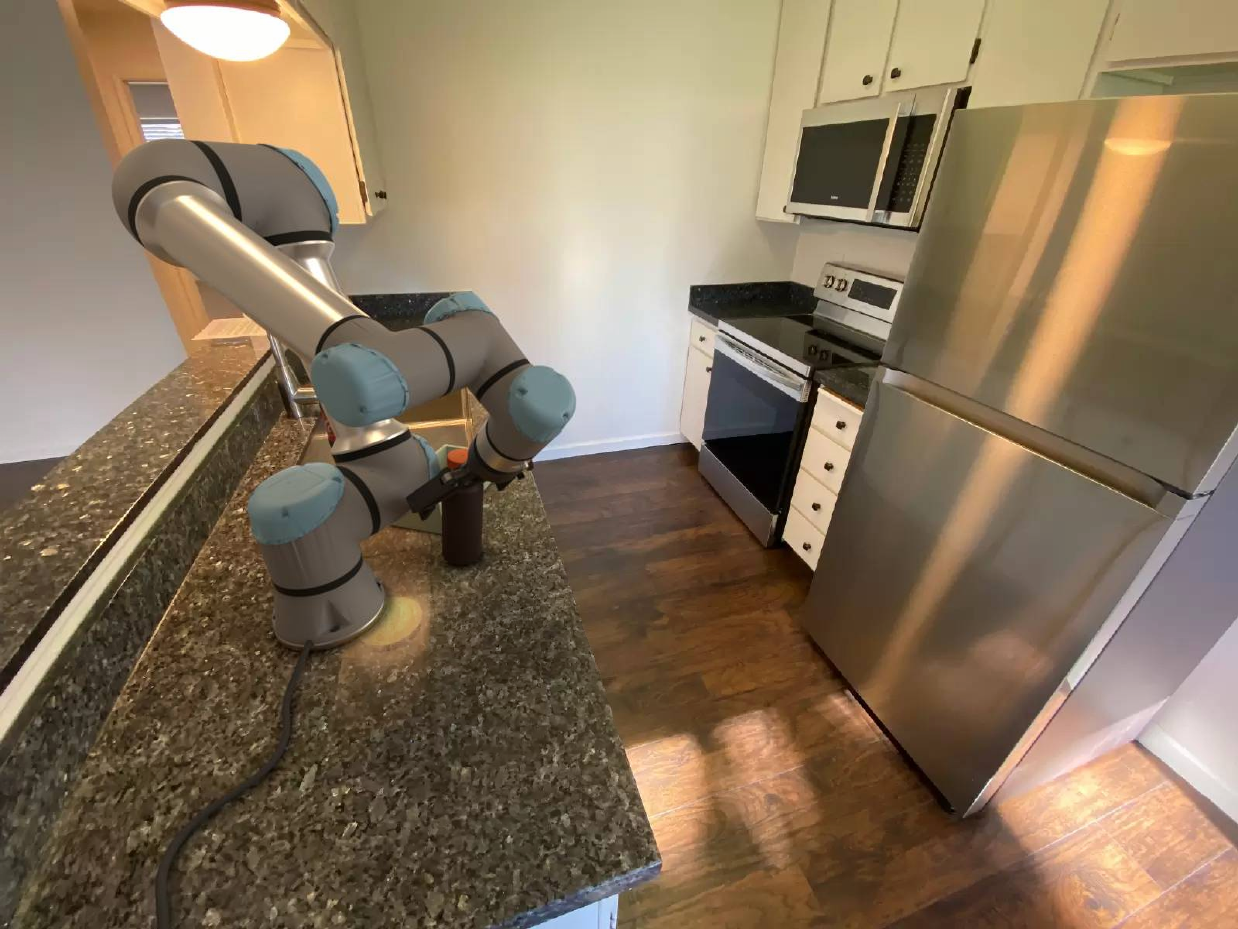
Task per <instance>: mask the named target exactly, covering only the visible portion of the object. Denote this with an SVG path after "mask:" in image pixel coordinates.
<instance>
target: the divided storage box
mask: <svg viewBox="0 0 1238 929" xmlns="http://www.w3.org/2000/svg"><path fill="white" fill-rule="evenodd" d="M456 449H469V446H468V447H467V446H460V445H453V444H446V443H444V444H443V445H442V446H441V447H439V448H438V449H437V450H436V451H435V453H436V455H437V457H438V460H439V463H440V468H441V470H442V469H443V468H445V467H447V455H448V453H449V452H451V451H453V450H456ZM490 484H492V482H488V481H487V482H485V483H484V491H485V490H487V488H488V486H489V485H490ZM435 506H436V508H435V509H434V511H433V512H432V513H431V515H430V516H429V517H428V519H427V520H424V521H422V520H421V518H420V516H419V514H418V513H412V514H411V513H410V514H409V515H407V516H405V517H403V518H402V519H400V520H398V521H397V522H395V523H393V524H392V525H391V526H394V527H398V528H399V527H400V528H404V529H411V530H416V531H422V532H427V533H432V534H433V533H434V534H440V535H442V512H441V502H440V503H438V504H436V505H435Z"/></svg>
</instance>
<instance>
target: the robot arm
mask: <svg viewBox="0 0 1238 929" xmlns="http://www.w3.org/2000/svg"><path fill="white" fill-rule="evenodd" d="M111 198H112V202H113V206H114V209H115V213H116V214H117V216H118V218H119V220H120V222H121V223H122V225H123V227H124V228H125V229H126V231H127V232H128V233H129V234H130V236H131V237H132V238H133V239H134V240H135V241H136V242H137V243H138V244H139V245H140V246H142V247H143V248H144V249H146V250H147V251H148V252H149V253H150V254H152V255H153V256H154V257H155V258H157V259H159V260H160V261H161V262H163V263H166V264H167V265H170V266H174V267H177V268H183V269H187V270H188V271H189V272H190V273H192V274H193V275H194V276H195V277H197V278H198V279H199V280H201V281H202V282H203V283H204V284H205V285H207V286H208V287H209V288H210V289H211V290H213V291H214V292H215V293H217V294H218V295H220V296H221V297H222V298H223V299H224V300H226V301H227V302H228V303H229V304H231V305H232V306H233V307H235V308H236V309H237V310H239V311H240V312H241V313H243V314H244V315H245V316H246V317H247V318H249V319H250V320H251V321H252V322H254V323H255V324H256V325H258V326H259V327H260V328H261V329H262V330H264V331H266V332H267V333H268V334H269V335H270V336H272V337H273V338H274V339H276V340H277V341H278V342H280V344H282V345H283V346H285V347H286V348H287V349H288V350H290V351H291V352H292V353H294V354H295V355H296V356H297V357H299V360H300V361H301V363H302V366H303V368H304V370H305V373H306V375H307V377H308V379H309V381H310V383H311V386H312V389H313V392H314V394H315V397H316V398H317V400H319V401H318V403H319V402H320V403H321V406H322V408H323V410H324V412H325V414H326V417H327V419H328V421H329V423H330V425H331V428H332V430H333V432H334V434H335V437H336V440H335V443H334V445H333V447H332V448H330V455H331V457H332V459H333V461H334V463H335V464H334V465H333V464H331V463H328V462H322V461H321V462H319V461H318V462H317V461H315V462H307V463H305V464H304V465H299V464H297V465H293V466H290V467H287V468H284V469H282V470H280V471H278V472H276V473H274V474H271V476H269V477H267V478H266V479H265V480H263V481H262V482H261V483H260V484H258V485H257V486H256V487H255V489H254V490H253V491H252V493H251V495H250V498H249V499H248V501H247V508H246V509H247V514H248V518H249V521H250V530H251V534H252V536H253V538H254V539H255V540H256V543H257V545H258V548H259V550H260V553H261V556H262V559H263V561H264V564H265V566H266V569H267V572H268V575H269V577H270V580H271V583H272V585H273V588H274V590H273V591H274V593H273V609H272V613H271V625H272V630H273V632H274V636H275V638H276V640H277V641H278V643H280V645H282V646H283V647H285V648H286V649H289V650H292V651H297V652H301V653H300V655H299V658H298V660H297V662H296V665H295V667H294V669H293V672H292V674H291V676H290V679H289V681H288V684H287V686H286V689H285V692H284V696H283V700H282V706H281V707H282V708H281V716H282V730H281V736H280V740H279V743H278V745H277V747H276V749H275V750H274V752H273V754H272V756H271V757H270V758H269V759H268V760H267V762H266V763H265V764H264V765H263V766H262V767H261V768H260V769H259V770H258V771H256V772H255V773H254V774H253V775H252V776H250V777H249V778H248V779H246V780H245V781H243V782H242V783H241V784H239V785H238V786H236V787H234V788H233V789H231V790H230V791H228V792H227V793H226V794H224V795H222V796H220V797H219V798H217V799H216V800H215V801H213V802H211V803H210V804H209V805H207V806H206V807H205V808H203V809H202V810H201V811H200V812H198V813H197V814H196V815H195V816H194V817H192V818H191V819H190V820H189V821H188V822H187V823H186V825H184V827H182V829H181V830H180V831H179V832H178V833H177V835H176V836H175V838H174V839H173V840H172V841H171V843H170V844H169V846H168V847H167V849H166V851H165V853H164V855H163V857H162V859H161V861H160V863H159V866H158V868H157V872H156V877H155V881H154V882H155V884H154V897H155V898H154V901H155V913H156V914H155V915H156V929H170V914H169V913H170V912H169V901H168V900H169V898H168V875H169V870H170V866H171V864H172V862H173V860H174V857H175V855H176V853H177V851H178V850H179V848H180V847H181V845H182V843H183V842H184V841H185V839H186V838H187V836H188V835H189V834H190V833H191V832H192V831H193V830H194V828H196V827H197V826H198V825H199V824H200V823H201V822H202V821H203V820H205V819H206V818H207V817H208V816H210V815H211V814H212V813H213V812H215V811H216V810H218V809H219V808H221V807H222V806H224V805H225V804H227V803H228V802H230V801H231V800H232V799H234V798H236V797H237V796H239V795H240V794H242V793H244V792H245V791H246V790H247V789H249V788H251V786H254V785H255V783H257V782H258V781H260V780H261V779H262V778H263V777H264V776H265V775H266V774H268V773H269V771H271V769H272V768H273V767H274V766H275V765H276V764H277V763H278V761H279V760H280V758H281V757H282V755H283V753H284V752H285V750H286V747H287V745H288V743H289V739H290V735H291V702H292V696H293V693H294V691H295V687H296V685H297V682H298V680H299V677H300V674H301V673H302V670H303V667H304V665H305V663H306V660H307V657H308V655H309V653H312V652H314V653H315V652H322V651H327V650H331V649H334V648H337V647H341V646H343V645H345V644H347V643H350V642H352V641H354V640H355V639H357V638H360V636H362V635H364V634H365V633H366V632H367V631H369V630H370V629H371V628H373V627H374V626H375V625H376V624H377V622H378V621H379V620H380V618H382V616H383V614H384V612H385V610H386V607H387V595H386V590H385V588H384V586H383V583H382V582H381V580H380V578H378V577H377V575H376V574H375V573H374V571H373V570H372V568H371V567H370V566H369V565H368V563H367V562H366V561H365V560H364V556H363V552H362V549H361V543H363V542H364V541H366V540H368V539H369V538H371V537H373V536H374V535H376V534H379V533H380V532H381V531H383V530H385V529H386V528H388V527H390V526H393V525H392V524H393V523H395V522H397V521H398V520H400V519H402V518H403V517H405V516H407V515H409V514H410V513H411V514H412V513H418V514H419V516H420V518H421V520H422V521H424V520H427V519H428V517H429V516H430V515H431V513H432V512H433V511H434V509H435V508H436V506H435V505H436V504H438V503H440V502H442V501H443V500H445V499H447V498H448V497H450V496H452V495H454V494H455V493H457V492H459V491H461V490H469V489H471V488H473V487H474V486H476V485H478V484H480V483H485V482H487V481H488V482H491V484H494V485H495V487H496V490H497V491H498V493H500V492H503V491H504V490H505V489H506V488H507V487H508V486H510V484H511V483H512V482H513V481H514V480H516V478H517V480H518V481H521V480H523V479H525V478H526V476H525V474H524V471H527V472H531V471H533V470H534V469H535V466H534V462H533V459H534V458H535V457H536V456H538V454H540V452H542V451H543V450H544V449H545V448H546V447H547V446H548V445H549V444H550V443H551V442H553V440H555V439H556V438H557V437H558V436H559V435H560V434H561V433H562V432H563V430H564V429H565V427H566V426H567V425H568V423H569V422H570V421H571V419H572V418H573V416H574V414H575V412H576V409H577V396H576V392H575V390H574V387H573V385H572V383H571V381H570V380H569V379H568V378H567V377H566V376H565V375H564V374H562V373H559V372H558V371H556V370H555V369H554V368H552V367H551V366H547V365H540V364H539V365H534V364H533V363H531V362H530V361H529V359H528V358H527V356H526V355H525V354H524V352H523V351H522V350H521V348H520V347H519V346H518V344H517V343H516V341H515V340H514V339H513V338H512V336H511V335H510V334H509V332H508V331H507V329H506V328H505V327H504V326H503V324H502V323H501V321H500V319H499V317H498V315H496V314H494V312H493V311H491V309H490V308H489V307H488V306H487V305H486V304H485V303H484V301H483V300H482V299H481V297H480V296H478V295H477V294H475V293H473V292H472V291H467V290H466V291H465V290H463V291H458V292H454V293H452V294H451V295H450V296H448V297H444V298H441V299H440V300H439V301H438V302H436V303H435V304H434V305H433V306H432V307H431V308H430V309H429V310H428V312H427V313H426V314H425V317H424V319H423V325H419V326H416V327H412V328H408V329H403V330H399V331H391V330H389V329H388V328H387V327H385V326H384V325H383V324H381V323H380V322H378V321H377V320H375V319H374V318H372V317H371V316H369V315H368V314H367V313H365V312H364V311H362V310H361V309H360V308H359V307H357V306H356V305H354V304H353V303H352V302H350V301H349V300H348V299H346V298H345V296H344V294H343V291H342V288H341V287H340V285H339V282H338V280H337V277H336V274H335V272H334V270H333V267H332V265H331V262H330V260H331V259H330V258H331V257H332V254H333V252H334V251H335V248H336V245H335V242H334V239H333V237H334V236H335V235H336V233H337V231H338V230H339V227H340V226H339V225H340V218H339V216H337V214H339V213H340V210H339V205H338V201H337V198H336V195H335V193H334V191H333V188H332V186H331V184H330V182H329V180H328V179H327V177H326V175H325V174H324V173H323V171H322V170H321V168H319V166H318V165H317V164H316V163H314V161H312V160H311V159H310V158H309V157H307V156H305V155H304V154H303V153H301V152H300V151H298V150H296V149H293V148H289V147H283V146H282V147H281V146H275V145H272V144H268V143H261V142H259V143H258V142H257V143H256V144H254V143H253V144H252V143H240V142H239V143H238V142H227V141H226V142H225V141H211V140H197V139H196V140H195V139H185V138H171V137H166V138H158V139H151V140H148V141H147V142H144V143H142V144H139V145H137V146H135V147H134V148H132V149H131V150H129V151H128V153H127V154H125V155H124V156H123V157H122V158H121V159H120V161H119V163H118V164H117V166H116V167H115V170H114V172H113V176H112V181H111ZM466 388H467V389H468V390H469V391H470V393H471V394H472V395H473V396H474V398H475V399H476V400H477V401H478V403H479V404H481V406H482V407H483V408H484V409H485V411H486V412H487V413H488V415H489V417H488V418H487V419H486V421H485V422H484V423H483V425H482V426H481V427H480V428H479V430H478V432H477V433H476V435H475V436H474V438H472V441H471V442H470V444H469V446H468V447H469V449H468V458H467V461H466V462H464V463H463V464H461V465H459V466H458V467H456V468H454V469H453V472H452V470H451V468H450V467H445V468H443V469H442V470H441V468H440V463H439V460H438V457H437V455H436V453H435V452H436V451H435V449H434V448H433V447H432V446H431V445H428V441H427V440H426V439H425V438H424V437H422V435H418V434H416V433H415V434H414V433H411V431H410V429H409V425H407V424H404V423H403V422H400V421H399V420H396V419H395V418H397V417H399V416H401V415H402V414H403V413H405V412H408V411H410V410H413V409H415V408H418V407H420V406H423V405H425V404H428V403H431V402H432V401H435V400H437V399H440V398H442V397H447V396H448V395H451V394H453V393H456V392H458V391H461V390H463V389H466ZM467 480H469V481H472V482H471V483H469V484H468V482H467Z"/></svg>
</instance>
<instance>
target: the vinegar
mask: <svg viewBox="0 0 1238 929" xmlns="http://www.w3.org/2000/svg"><path fill="white" fill-rule="evenodd" d="M467 458H468V449H456V450H453V451H451V452H449V453H448V455H447V467H450V468H451V470H452V472H453V469H454V468H456V467H458V466H459V465H461V464H463V463H464V462H466V461H467ZM467 482H468V484H469V483H471V482H472V481H469V480H467ZM484 492H485V490H484V483H480V484H478V485H476V486H474V487H473V488H471V489H469V490H461V491H459V492H457V493H455V494H454V495H452V496H450V497H448V498H447V499H445V500H443V501H442V502H441V512H442V534H441V555H442V558H443V559H444V560H445V562H447V563H449V564H452V565H457V566H464V565H468V564H469V565H470V564H472V563H474V562H476V561H477V560H479V558H480V557H481V555H482V552H483V551H482V550H483V548H482V547H483V543H482V542H483V525H484V524H483V519H484Z"/></svg>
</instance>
